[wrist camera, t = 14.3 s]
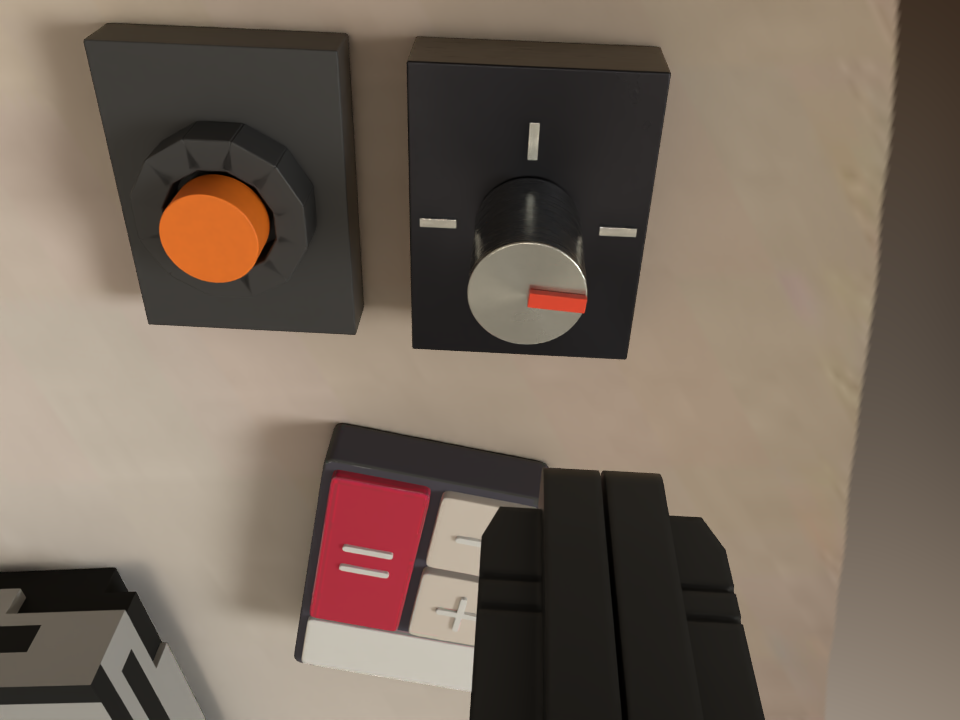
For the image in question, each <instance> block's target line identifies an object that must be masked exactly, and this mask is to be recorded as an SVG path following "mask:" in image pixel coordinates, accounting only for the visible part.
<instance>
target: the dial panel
mask: <svg viewBox="0 0 960 720" xmlns="http://www.w3.org/2000/svg"><path fill="white" fill-rule="evenodd" d="M670 77H671V73H670V70H669V68H668V65H667V63H666V60H665V58H664V55H663V53H662V50H661V48H660V47H643V46H620V45H597V44H574V43H551V42H528V41H505V40H482V39H459V38H436V37H416V39H415V42H414V44H413V47H412V50H411V52H410V55H409V58H408V60H407V105H408V156H409V206H410V256H411V307H412V347H413V348H414V349H431V350H451V351H470V352H490V353H509V354H528V355H548V356H567V357H587V358H606V359H626V358H627V353H628V347H629V340H630V334H631V328H632V321H633V315H634V308H635V302H636V295H637V289H638V283H639V276H640V270H641V263H642V257H643V250H644V244H645V238H646V231H647V225H648V218H649V212H650V205H651V199H652V193H653V186H654V180H655V173H656V167H657V160H658V154H659V147H660V141H661V135H662V128H663V122H664V115H665V109H666V102H667V96H668V90H669V83H670ZM520 178H536V179H542V180H545V181H548V182H551V183H553V184H555V185H557V186H558V187H560V188H561V189H563V190H564V191H565V192H566V193H567V194H568V195H569V196H570V197H571V198H572V200H573V201H574V203H575V204H576V206H577V208H578V211H579V214H580V220H581V229H582V239H583V249H584V260H585V270H586V280H587V303H586V308H585V313H582V315H581V317H580V318H579V320H578V321H577V322H576V323H575V325H574V326H573V327H572V328H571V329H569V330H568V331H567V332H566V333H564V334H563V335H561V336H559V337H557V338H555V339H553V340H550V341H547V342H543V343H538V344H516V343H511V342H507V341H504V340H502V339H499V338H497V337H495V336H494V335H492V334H490V333H489V332H488V331H486V330H485V329H484V328H483V327H482V326H481V325H480V324H479V323H478V322H477V320H476V319H475V317H474V316H473V314H472V312H471V309H470V307H469V303H468V297H467V288H468V279H469V271H470V262H471V253H472V245H473V236H474V228H475V220H476V215H477V212H478V209H479V207H480V205H481V203H482V202H483V200H484V199H485V197H486V196H487V195H488V194H489V193H490V192H491V191H493V190H494V189H495V188H497V187H498V186H500V185H502V184H504V183H506V182H508V181H512V180H515V179H520Z"/></svg>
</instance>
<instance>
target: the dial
mask: <svg viewBox="0 0 960 720" xmlns="http://www.w3.org/2000/svg"><path fill="white" fill-rule="evenodd" d="M467 297H468V303H469V307H470V309H471V312H472V314H473V316H474V317H475V319H476V320H477V322H478V323H479V324H480V325H481V326H482V327H483V328H484V329H485V330H486V331H488V332H489V333H490V334H492V335H494V336H495V337H497V338H499V339H502V340H504V341H507V342H511V343H516V344H538V343H543V342H547V341H550V340H553V339H555V338H557V337H559V336H561V335H563V334H564V333H566V332H567V331H568V330H569V329H571V328H572V327H573V326H574V325H575V323H576V322H577V321H578V320H579V318H580V317H581V315H582V313H585V308H586V303H587V280H586V270H585V260H584V249H583V239H582V229H581V220H580V214H579V211H578V208H577V206H576V204H575V203H574V201H573V200H572V198H571V197H570V196H569V195H568V194H567V193H566V192H565V191H564V190H563V189H561V188H560V187H558V186H557V185H555V184H553V183H551V182H548V181H545V180H542V179H536V178H520V179H515V180H512V181H508V182H506V183H504V184H502V185H500V186H498V187H497V188H495V189H494V190H493V191H491V192H490V193H489V194H488V195H487V196H486V197H485V199H484V200H483V202H482V203H481V205H480V207H479V209H478V212H477V215H476V220H475V228H474V236H473V245H472V253H471V262H470V271H469V279H468V288H467Z"/></svg>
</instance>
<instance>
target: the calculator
mask: <svg viewBox="0 0 960 720" xmlns="http://www.w3.org/2000/svg"><path fill="white" fill-rule="evenodd" d="M542 468H548V466H547V465H546V464H545V463H542V462H537V461H532V460H527V459H522V458H517V457H512V456H507V455H501V454H496V453H491V452H486V451H481V450H476V449H471V448H465V447H460V446H455V445H450V444H445V443H440V442H435V441H429V440H424V439H419V438H414V437H409V436H404V435H398V434H393V433H388V432H383V431H378V430H373V429H368V428H362V427H357V426H352V425H347V424H339V425H337V426H336V427H335V428H334V431H333V434H332V437H331V441H330V444H329V447H328V451H327V454H326V458H325V461H324V465H323V471H322V478H321V484H320V491H319V497H318V504H317V510H316V517H315V523H314V530H313V536H312V543H311V549H310V556H309V562H308V569H307V575H306V582H305V588H304V595H303V601H302V607H301V614H300V620H299V627H298V633H297V640H296V646H295V653H294V657H295V659H296V660H297V661H299V662H301V663H305V664H309V665H314V666H320V667H326V668H332V669H338V670H344V671H350V672H355V673H361V674H367V675H373V676H379V677H385V678H391V679H396V680H402V681H408V682H414V683H420V684H426V685H432V686H437V687H443V688H449V689H455V690H461V691H467V692H471V690H472V674H473V659H474V643H475V628H476V613H477V597H478V582H479V566H480V551H481V536H482V535H483V533H484V531H485V530H486V528H487V527H488V525H489V523H490V522H491V520H492V518H493V517H494V515H495V514H496V512H497V510H498V509H499V507H500V506H503V507H521V508H538V501H539V491H540V481H541V472H542Z"/></svg>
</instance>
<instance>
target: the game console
mask: <svg viewBox="0 0 960 720" xmlns="http://www.w3.org/2000/svg"><path fill="white" fill-rule="evenodd" d="M0 720H206V719H205V717H204V715H203V713H202V711H201V709H200V707H199V705H198V703H197V701H196V699H195V697H194V695H193V693H192V691H191V689H190V687H189V685H188V683H187V681H186V679H185V677H184V675H183V673H182V671H181V669H180V667H179V665H178V664H177V662H176V660H175V658H174V656H173V654H172V652H171V650H170V648H169V646H168V644H167V643H162V642H161V640H160V638H159V636H158V634H157V632H156V630H155V628H154V626H153V624H152V622H151V620H150V618H149V616H148V614H147V612H146V610H145V608H144V607H143V605H142V603H141V601H140V599H139V597H138V595H137V593H136V592H128V590H127V589H126V587H125V585H124V583H123V581H122V579H121V577H120V575H119V573H118V571H117V569H116V568H108V569H82V570H57V571H32V572H6V573H0Z"/></svg>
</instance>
